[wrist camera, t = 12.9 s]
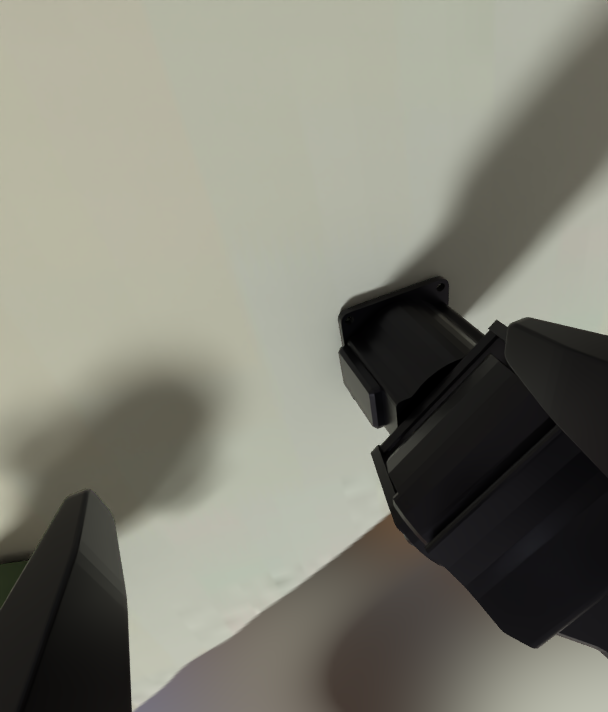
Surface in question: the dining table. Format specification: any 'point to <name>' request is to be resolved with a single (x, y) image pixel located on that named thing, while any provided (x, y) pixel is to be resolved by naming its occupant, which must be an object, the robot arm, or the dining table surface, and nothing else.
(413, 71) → the dining table surface
